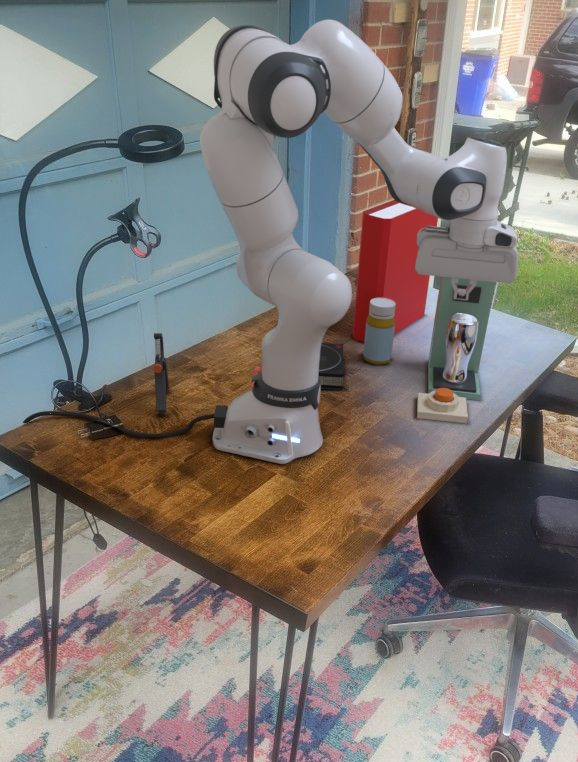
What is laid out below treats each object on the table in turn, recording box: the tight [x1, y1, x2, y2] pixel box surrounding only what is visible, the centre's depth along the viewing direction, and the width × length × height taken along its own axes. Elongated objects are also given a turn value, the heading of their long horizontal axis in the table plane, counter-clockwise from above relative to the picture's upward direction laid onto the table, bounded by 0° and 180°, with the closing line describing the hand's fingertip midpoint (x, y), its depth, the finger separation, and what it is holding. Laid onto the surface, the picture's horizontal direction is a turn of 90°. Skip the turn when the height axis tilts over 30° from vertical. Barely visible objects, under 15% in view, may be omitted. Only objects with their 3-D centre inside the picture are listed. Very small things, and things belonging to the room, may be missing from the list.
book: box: [352, 199, 439, 343], centre depth 191 cm, size 27×8×32 cm, turn 147°
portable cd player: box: [319, 342, 345, 391], centre depth 173 cm, size 16×17×4 cm
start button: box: [435, 388, 454, 403], centre depth 162 cm, size 4×4×2 cm
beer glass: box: [442, 313, 479, 384], centre depth 168 cm, size 7×7×15 cm
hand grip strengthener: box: [152, 332, 170, 416], centre depth 153 cm, size 2×12×15 cm, turn 9°
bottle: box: [362, 298, 396, 366], centre depth 178 cm, size 7×7×15 cm
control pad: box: [416, 391, 469, 424], centre depth 163 cm, size 11×9×4 cm
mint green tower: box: [427, 277, 497, 401], centre depth 169 cm, size 13×18×27 cm
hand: (460, 298), depth 148 cm, fingers closed
